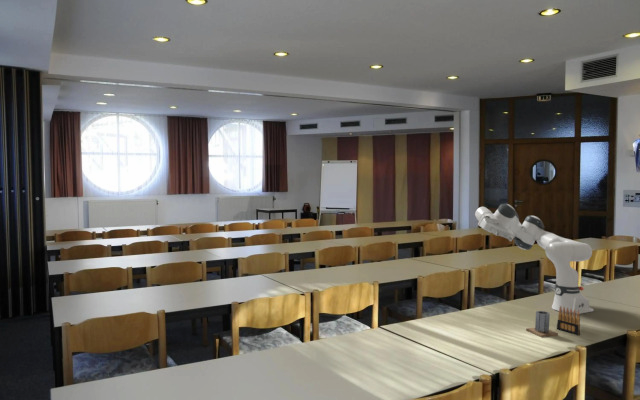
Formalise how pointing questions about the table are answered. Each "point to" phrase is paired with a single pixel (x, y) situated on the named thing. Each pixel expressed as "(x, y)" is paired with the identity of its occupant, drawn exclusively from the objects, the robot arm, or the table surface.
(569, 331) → the ammunition clip
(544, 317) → the grey octagonal tube
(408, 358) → the table surface
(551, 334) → the stand
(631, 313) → the table surface
